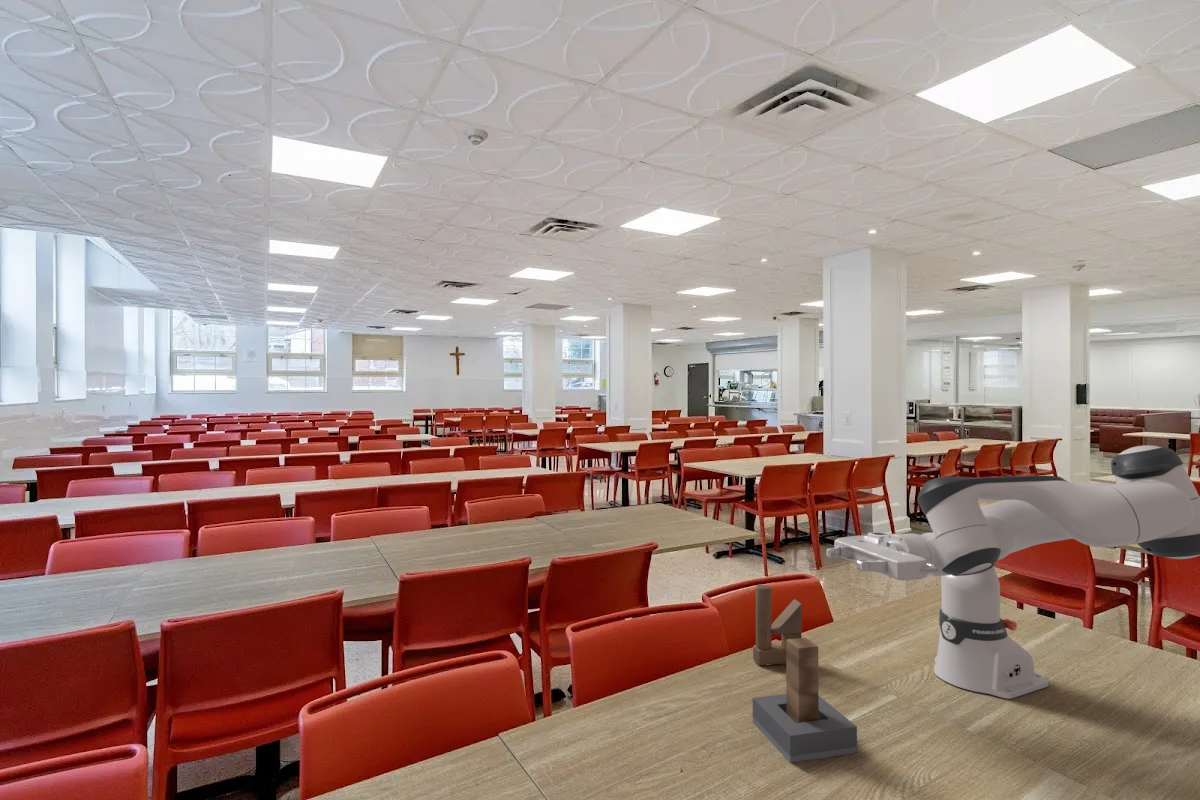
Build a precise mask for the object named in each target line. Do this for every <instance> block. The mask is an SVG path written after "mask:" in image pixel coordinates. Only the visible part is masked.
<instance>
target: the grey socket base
mask: <svg viewBox="0 0 1200 800" xmlns="http://www.w3.org/2000/svg"><path fill="white" fill-rule="evenodd" d="M818 704H819V720H817V721H810V722H802V723H796V722H795V721H794V720H793V719H792V718H790V717H789V716H788V715H787V714H786V693H783V694H781V693H780V694H775V695H773V694H772V695H767V696H766V695H765V696H757V697H756V696H755V697H752V723H753V724H754V725H755V726H756V727H757V728H758V729H759V731H760V732H761V733H762V734H763V735H764V736H765V737H766V738H767V739H768V740H769V741H770V742H771V743H772V744H773V746H774V747H775V748H776V749H777V750H778V751H779V753H781V754H782V756H783V757H784V758H786V760H787V762H789V763H791V764H792V763H797V762H799V763H800V762H804V761H805V762H806V761H812V760H818V759H823V758H830V757H838V756H845V755H853V754H857V753H858V726H857V725H856V724H854V723H853V722H852V721H850V720H849V719H848V718H847V717H846V716H845V715H843V714H842V713H841V712H839V710H837V709H836V708H835V707H834V706H832V705H831V704H830V703H828V702H827V701H826V700H825V699H823V698H822V697H821V696H820V695H819V694H818Z"/></svg>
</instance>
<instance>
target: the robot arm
mask: <svg viewBox="0 0 1200 800" xmlns="http://www.w3.org/2000/svg"><path fill="white" fill-rule="evenodd" d="M1183 464H1184V462H1183V461H1182V459H1181V457H1180V456H1179V455H1178V453H1177V452H1176V451H1174V450H1173V449H1172V448H1169V447H1167V446H1158V445H1151V444H1150V445H1149V444H1148V445H1145V444H1144V445H1137V446H1133V447H1129V448H1127V449H1124V450H1123V451H1122V452H1120V453H1119V454H1115V455H1114V457H1113V458H1112V459H1111V461H1110V469H1111V475H1112V476H1114V478H1115V483H1109V482H1087V483H1084V482H1083V483H1072V482H1069V481H1068V480H1066V479H1064V478H1063V477H1061V476H1057V475H1056V476H1055V475H1011V476H1010V475H1009V476H985V477H984V476H983V477H981V476H979V477H970V476H969V477H967V476H940V477H937V478H933V479H930V480H927V481H926V482H924V484H923V485H922V487H921V489H920V490H919V493H918V494H917V495H918V496H917V501H916V502H917V503H918V505H919V507H920V509H921V510H922V512H923V514H924V516H926V519H927V521H928V523H929V525H930V529H931V530H932V532H923V533H922V534H918V533H909V532H908V533H889V534H888V533H882V532H874V531H873V532H868V533H867V535H851V536H844V537H838V538H836V539H835V540H834V542H833V543H834V544H833V545H834V547H832V548H831V547H830V548H827V549H826V557H828V558H830V559H833V560H834V559H835V560H836V559H839V558H841V559H844V560H846V561H849V562H851V563H854V564H856V569H857V570H860V571H861V572H874V573H879V574H881V575H885V576H886V577H887V576H888V577H889V578H892V579H895V580H896V581H897V580H898V581H904V582H908V581H915V580H921V579H926V578H927V576H932V577H940V582H941V583H940V584H941V585H940V586H941V589H940V591H941V608H940V609H939V615H938V619H939V623H938V625H939V628H940V630H939V636H938V644H937V654H936V656H935V657H934V663H935V664H934V667H933V672H934V674H935V675H936V676H937V677H938V678H940V679H941V680H942V681H944V682H946V683H948V684H950V685H952V686H955V687H958V688H961V689H964V690H967V691H971V692H976V693H982V694H988V695H992V696H996V697H999V698H1002V699H1007V700H1008V699H1009V700H1010V699H1011V700H1012V699H1015V698H1017V697H1020V696H1023V695H1027V694H1029V693H1032V692H1035V691H1038V690H1042V689H1044V688H1047V687H1049V685H1050V684H1049V681H1048V679H1046V678H1045V677H1044V676H1042V675H1041V674H1039V673H1038V672H1036V671H1035V665H1034V663H1035V662H1034V659H1033V657H1032V655H1031V653H1030V652H1029V651H1027V649H1025V648H1024V647H1022V645H1020V644H1019V643H1017V641H1015V640H1014V639H1012V637H1010V636H1009V634H1008V632H1007V629H1008V630H1009V631H1016V630H1017V628H1018V623H1017V622H1016V621H1014V620H1010V619H1008V618H1005V619H1003V618H1001V583H1000V581H999V578H998V576H997V573H996V569H995V564H996V563H997V561H1000V560H1002V559H1004V558H1005V557H1008V556H1009V554H1012V553H1015V552H1019V551H1021V550H1025V549H1027V548H1030V547H1033V546H1038V545H1041V544H1046V543H1053V542H1059V541H1066V540H1075V541H1077V542H1079V543H1081V544H1084V545H1086V546H1090V547H1093V548H1115V547H1123V546H1130V545H1135V544H1136V545H1138V546H1139V547H1140V548H1141V549H1143V550H1144V551H1145V552H1146V551H1147V552H1148V553H1150V554H1152V555H1154V556H1157V557H1158V558H1159V557H1160V558H1168V559H1173V560H1187V559H1193V558H1196V557H1199V556H1200V495H1199V494H1198V490H1197V489H1196V487H1195V485H1194V482H1193V481H1192V479H1191V478H1190V475H1189V474H1188V473H1187V471H1186V469H1185V468H1184V465H1183ZM980 501H981V502H982V501H997V502H993V503H991V504H979V503H980Z"/></svg>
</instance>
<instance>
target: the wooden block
mask: <svg viewBox="0 0 1200 800" xmlns="http://www.w3.org/2000/svg"><path fill="white" fill-rule="evenodd" d="M802 606H803V605H802V603H801V602H800V601H798V600H797V599H796V598H793V599H792V601H790V603H789V604H788V605H787V606H786V607H785V609H784V610H783V611H782V612H781V613H780V614H779V615H778V616H777V618H776V619H775V620H774V621H773V622H772V587H771V586H770V585H768V584H757V585H756V587H755V644H754V645H753V646H752V650H753V651H752V652H753V653H752V654H753V656H752V659H754V660H755V661H756V662H757V663H758V664H757V663H756V662H755V661H754V660H753V661H754V662H755V663H756V664H757V665H758V666H759V665H765V666H771V665H770V664H781V665H786V640H787V639H797V638H803V637H802V636H803V635H802V632H803V631H802V625H803V622H802V621H803V620H802V618H803V613H802V612H803V610H802V609H803V608H802ZM772 634H773V635H774V636H776V635H781V636H780V637H781V640H780V642H781V643H780V644H781V645H780V644H776V643H772ZM767 664H769V665H767Z"/></svg>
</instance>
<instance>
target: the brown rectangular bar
mask: <svg viewBox="0 0 1200 800" xmlns="http://www.w3.org/2000/svg"><path fill="white" fill-rule="evenodd" d="M785 666H786V668H785V669H786V671H785V672H786V678H785V680H786V683H785V684H786V685H785V686H786V687H785V689H786V693H785V694H786V714H787V715H788V716H789V717H790V718H792V719H793V720H794V721H795V722H796V723H802V722H810V721H817V720H819V704H818V695H819V646H818V645H817V644H815V643H814V642H813V641H811V640H810V639H808V638H807V637H802V638H797V639H787V640H786V664H785Z"/></svg>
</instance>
